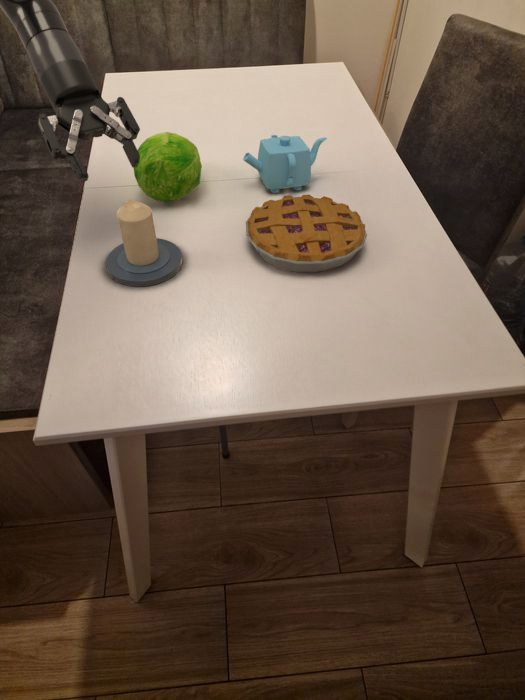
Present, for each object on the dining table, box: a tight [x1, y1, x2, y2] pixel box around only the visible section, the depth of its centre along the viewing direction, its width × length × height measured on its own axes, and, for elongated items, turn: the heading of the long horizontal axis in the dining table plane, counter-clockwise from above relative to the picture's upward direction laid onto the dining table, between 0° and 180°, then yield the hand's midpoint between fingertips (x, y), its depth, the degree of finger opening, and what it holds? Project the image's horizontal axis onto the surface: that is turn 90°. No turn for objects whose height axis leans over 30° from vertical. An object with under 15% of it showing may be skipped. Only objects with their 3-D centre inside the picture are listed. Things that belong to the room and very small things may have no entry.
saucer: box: [105, 237, 183, 288], centre depth 84 cm, size 13×13×1 cm
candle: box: [116, 199, 159, 266], centre depth 80 cm, size 6×6×10 cm
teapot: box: [242, 134, 328, 194], centre depth 103 cm, size 18×14×10 cm
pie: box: [245, 194, 368, 273], centre depth 88 cm, size 22×22×5 cm
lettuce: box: [132, 131, 203, 204], centre depth 100 cm, size 14×20×12 cm
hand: (111, 172), depth 76 cm, fingers open, 8 cm apart
